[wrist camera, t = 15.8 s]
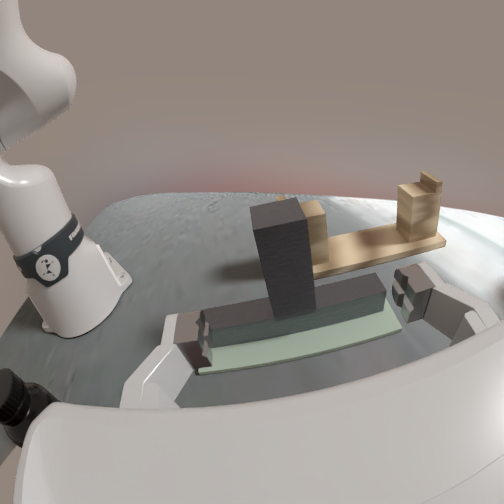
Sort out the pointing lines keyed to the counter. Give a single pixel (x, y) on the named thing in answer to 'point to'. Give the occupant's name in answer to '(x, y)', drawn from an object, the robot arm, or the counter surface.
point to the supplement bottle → (20, 404)
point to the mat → (304, 343)
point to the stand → (378, 232)
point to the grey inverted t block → (291, 285)
